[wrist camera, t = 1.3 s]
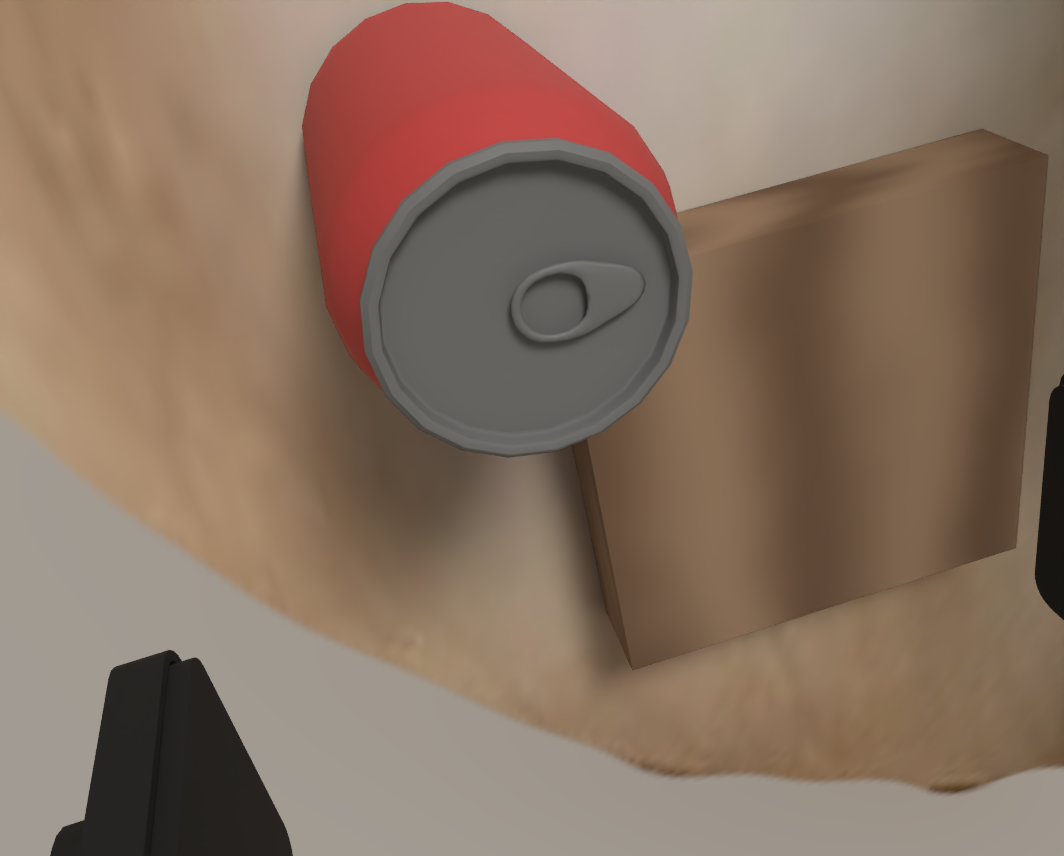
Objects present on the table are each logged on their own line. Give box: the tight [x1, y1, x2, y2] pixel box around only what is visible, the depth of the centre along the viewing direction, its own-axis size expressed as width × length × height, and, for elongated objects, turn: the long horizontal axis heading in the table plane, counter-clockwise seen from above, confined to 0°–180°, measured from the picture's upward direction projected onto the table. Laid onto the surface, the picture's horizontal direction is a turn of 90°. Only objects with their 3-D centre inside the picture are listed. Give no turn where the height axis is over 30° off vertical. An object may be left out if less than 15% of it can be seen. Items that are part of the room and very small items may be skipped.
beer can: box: [302, 2, 693, 457], centre depth 22 cm, size 7×7×12 cm
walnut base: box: [572, 129, 1048, 670], centre depth 32 cm, size 14×14×3 cm
